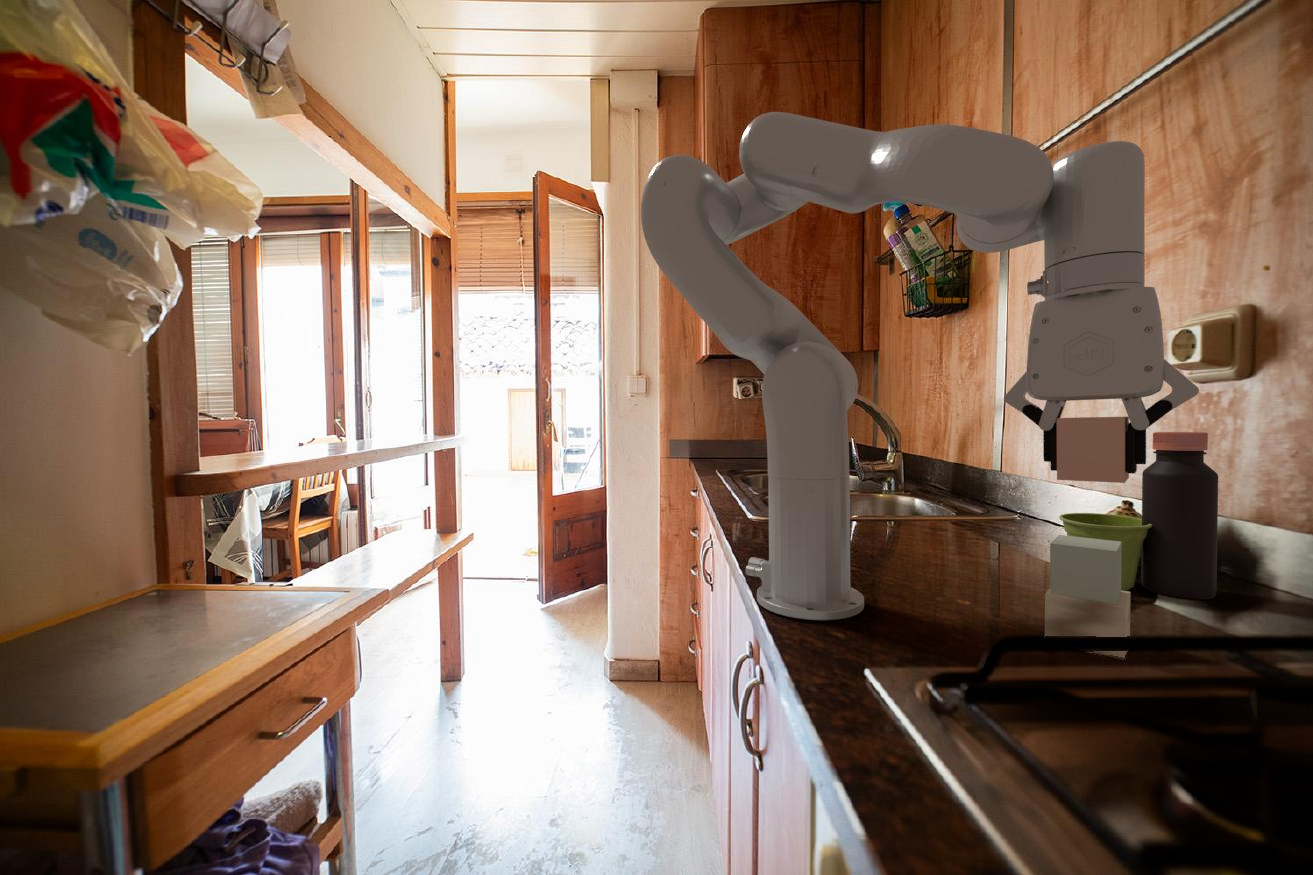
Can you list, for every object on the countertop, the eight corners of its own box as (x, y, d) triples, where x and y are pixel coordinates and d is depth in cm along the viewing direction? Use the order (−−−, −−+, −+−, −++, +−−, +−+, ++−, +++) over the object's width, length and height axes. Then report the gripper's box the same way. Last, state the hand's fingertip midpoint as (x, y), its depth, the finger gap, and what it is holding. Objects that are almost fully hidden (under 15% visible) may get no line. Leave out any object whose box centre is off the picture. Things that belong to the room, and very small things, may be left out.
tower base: (1044, 643, 53) (1044, 593, 53) (1055, 626, 58) (1055, 580, 58) (1124, 661, 49) (1125, 607, 49) (1129, 641, 54) (1130, 592, 53)
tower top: (1050, 593, 53) (1050, 543, 53) (1058, 581, 57) (1059, 534, 57) (1116, 604, 50) (1116, 551, 50) (1121, 591, 53) (1121, 541, 53)
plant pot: (1171, 597, 66) (1172, 526, 65) (1083, 594, 67) (1083, 525, 67) (1121, 575, 75) (1122, 513, 74) (1045, 573, 77) (1045, 512, 76)
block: (1056, 479, 53) (1056, 418, 53) (1065, 475, 56) (1065, 417, 56) (1124, 483, 49) (1124, 417, 49) (1128, 477, 53) (1128, 416, 53)
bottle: (1183, 584, 71) (1185, 431, 70) (1233, 601, 64) (1236, 432, 63) (1127, 583, 71) (1128, 432, 71) (1171, 600, 65) (1173, 433, 64)
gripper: (981, 293, 55) (983, 470, 56) (1221, 254, 43) (1220, 479, 44) (1000, 303, 61) (1001, 464, 61) (1217, 271, 49) (1217, 471, 49)
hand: (1092, 468), depth 53 cm, fingers closed on block, 5 cm apart
